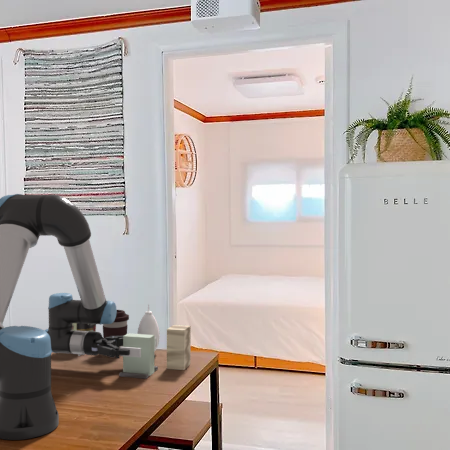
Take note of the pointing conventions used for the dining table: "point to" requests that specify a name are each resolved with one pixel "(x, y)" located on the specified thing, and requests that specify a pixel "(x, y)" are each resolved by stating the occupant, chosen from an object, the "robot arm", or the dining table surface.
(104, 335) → the travel mug
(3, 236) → the robot arm
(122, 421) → the dining table surface
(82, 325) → the can
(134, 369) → the pale green block
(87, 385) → the dining table surface
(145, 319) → the sauce bottle
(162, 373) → the dining table surface
